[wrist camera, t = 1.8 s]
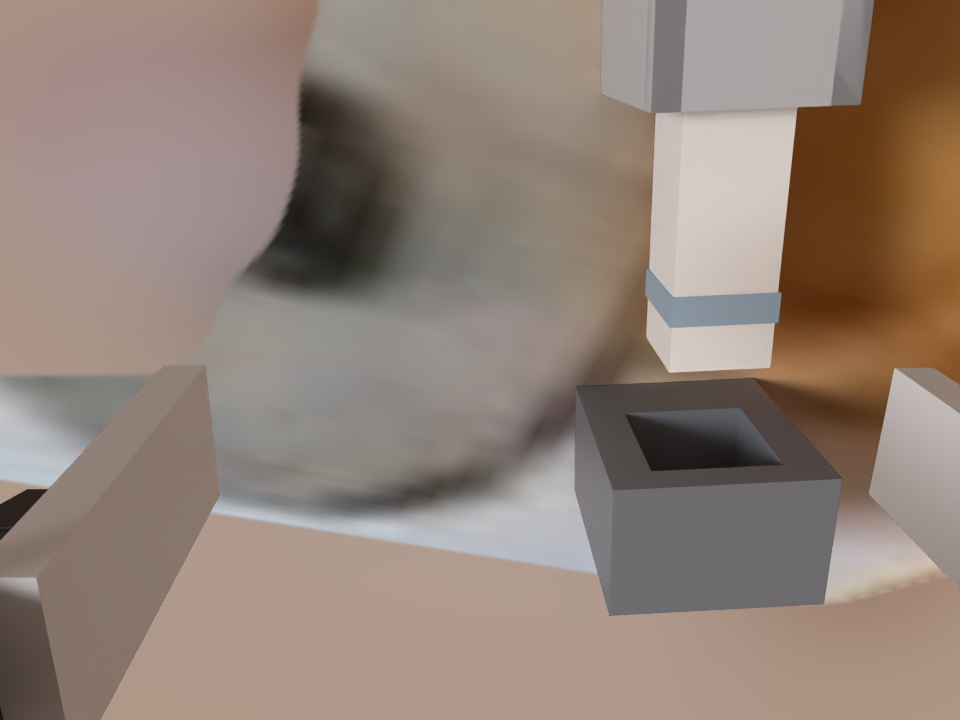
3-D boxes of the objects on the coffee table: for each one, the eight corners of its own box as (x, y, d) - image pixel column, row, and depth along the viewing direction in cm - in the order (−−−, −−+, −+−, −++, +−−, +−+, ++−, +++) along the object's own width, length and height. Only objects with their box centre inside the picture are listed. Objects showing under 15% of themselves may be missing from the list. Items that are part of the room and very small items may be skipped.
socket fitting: (575, 386, 41) (613, 490, 32) (753, 378, 41) (842, 478, 32) (574, 490, 43) (609, 615, 34) (743, 481, 43) (823, 604, 34)
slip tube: (664, -169, 29) (698, -200, 25) (782, -173, 29) (834, -205, 25) (643, 336, 36) (667, 373, 32) (738, 332, 36) (773, 368, 32)
